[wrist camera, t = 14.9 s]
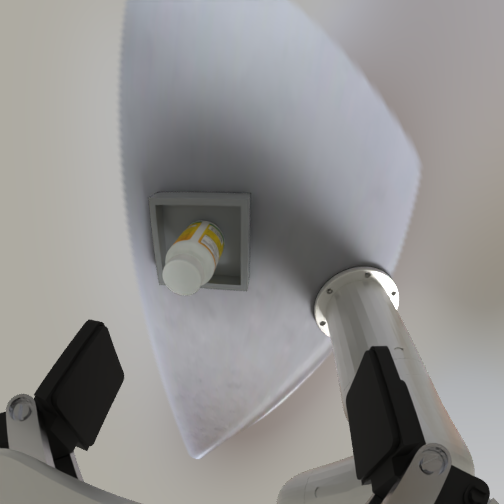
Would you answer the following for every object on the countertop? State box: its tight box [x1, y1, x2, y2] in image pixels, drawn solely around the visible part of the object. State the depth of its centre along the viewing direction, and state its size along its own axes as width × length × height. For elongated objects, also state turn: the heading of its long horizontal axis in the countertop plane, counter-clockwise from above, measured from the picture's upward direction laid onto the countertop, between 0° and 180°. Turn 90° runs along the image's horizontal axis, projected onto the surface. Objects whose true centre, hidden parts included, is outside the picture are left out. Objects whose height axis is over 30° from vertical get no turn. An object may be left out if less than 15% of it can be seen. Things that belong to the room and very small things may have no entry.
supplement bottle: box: [162, 220, 225, 296], centre depth 31 cm, size 5×5×10 cm
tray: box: [148, 192, 251, 291], centre depth 35 cm, size 12×12×3 cm
